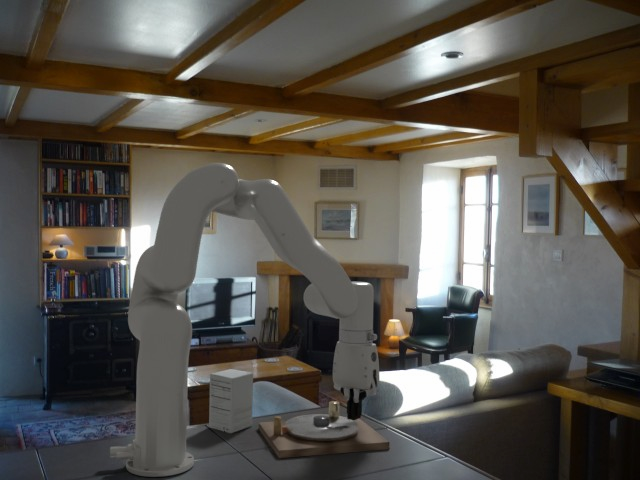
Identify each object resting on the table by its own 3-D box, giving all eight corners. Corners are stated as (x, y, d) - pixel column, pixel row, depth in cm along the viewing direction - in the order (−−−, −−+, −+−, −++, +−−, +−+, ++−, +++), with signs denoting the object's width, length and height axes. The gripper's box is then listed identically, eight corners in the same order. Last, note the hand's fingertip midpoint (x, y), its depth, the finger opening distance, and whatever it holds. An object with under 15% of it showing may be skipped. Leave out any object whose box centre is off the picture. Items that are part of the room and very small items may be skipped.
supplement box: (230, 420, 153) (231, 368, 153) (253, 426, 148) (254, 372, 148) (207, 427, 147) (208, 372, 147) (231, 434, 142) (232, 377, 142)
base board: (278, 458, 127) (279, 431, 127) (258, 428, 146) (259, 405, 146) (389, 448, 134) (389, 423, 134) (356, 422, 154) (356, 400, 154)
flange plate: (368, 438, 135) (368, 416, 135) (290, 443, 130) (291, 420, 130) (344, 417, 150) (344, 397, 150) (274, 421, 146) (274, 401, 146)
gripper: (393, 338, 141) (391, 421, 141) (337, 331, 150) (335, 409, 150) (376, 342, 135) (374, 428, 135) (319, 335, 144) (317, 416, 144)
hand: (354, 418), depth 143 cm, fingers closed
